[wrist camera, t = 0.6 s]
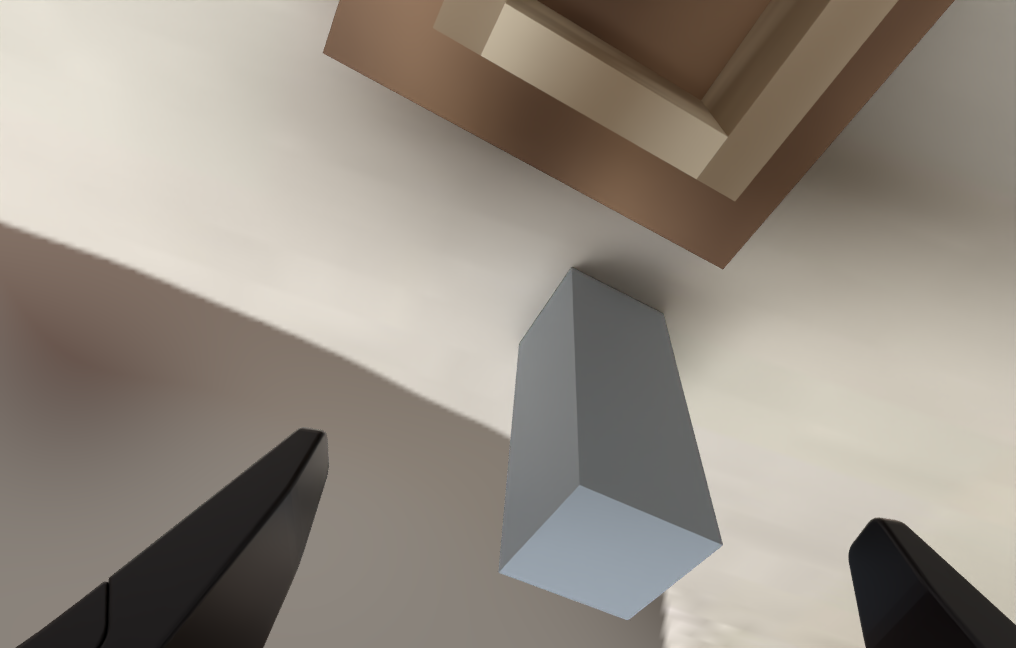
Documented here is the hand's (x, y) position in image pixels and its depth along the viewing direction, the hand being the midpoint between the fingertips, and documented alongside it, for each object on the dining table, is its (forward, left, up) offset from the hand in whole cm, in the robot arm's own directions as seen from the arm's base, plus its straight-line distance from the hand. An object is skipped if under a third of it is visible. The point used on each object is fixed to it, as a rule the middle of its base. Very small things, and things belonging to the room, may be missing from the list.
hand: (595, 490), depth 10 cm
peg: (-3, +5, -13) cm, 14 cm away
